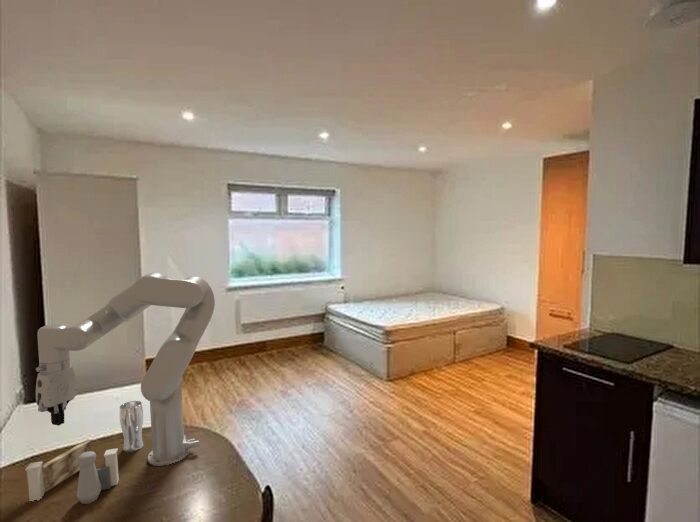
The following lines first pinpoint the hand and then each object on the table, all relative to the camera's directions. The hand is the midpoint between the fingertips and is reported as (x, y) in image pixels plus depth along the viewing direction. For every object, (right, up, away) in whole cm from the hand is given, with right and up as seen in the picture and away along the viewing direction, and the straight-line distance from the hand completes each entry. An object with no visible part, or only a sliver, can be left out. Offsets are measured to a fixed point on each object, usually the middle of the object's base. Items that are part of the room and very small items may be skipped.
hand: (58, 423), depth 126 cm
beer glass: (+16, -14, +13) cm, 25 cm away
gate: (+6, -14, -3) cm, 16 cm away
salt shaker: (+18, -16, -13) cm, 27 cm away
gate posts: (+12, -15, -10) cm, 22 cm away
